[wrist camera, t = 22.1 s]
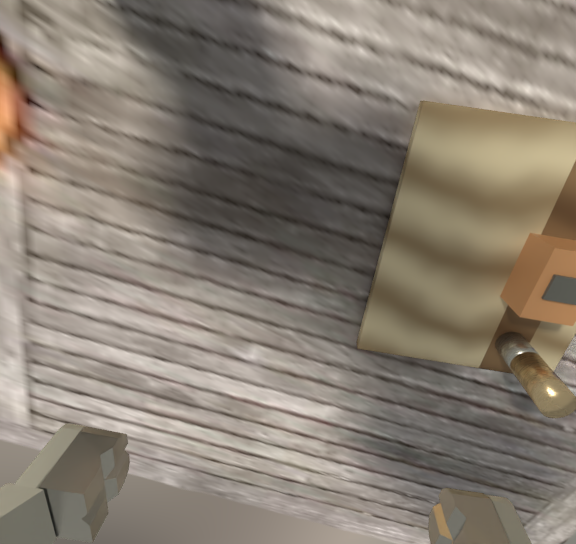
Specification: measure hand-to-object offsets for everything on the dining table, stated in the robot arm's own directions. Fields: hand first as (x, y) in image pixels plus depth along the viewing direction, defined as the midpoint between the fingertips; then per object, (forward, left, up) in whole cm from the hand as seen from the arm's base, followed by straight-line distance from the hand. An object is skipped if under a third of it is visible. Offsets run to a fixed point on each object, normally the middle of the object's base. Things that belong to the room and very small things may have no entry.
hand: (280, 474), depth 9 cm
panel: (+3, +19, -29) cm, 35 cm away
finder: (+3, +23, -28) cm, 36 cm away
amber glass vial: (+12, +24, -28) cm, 39 cm away
